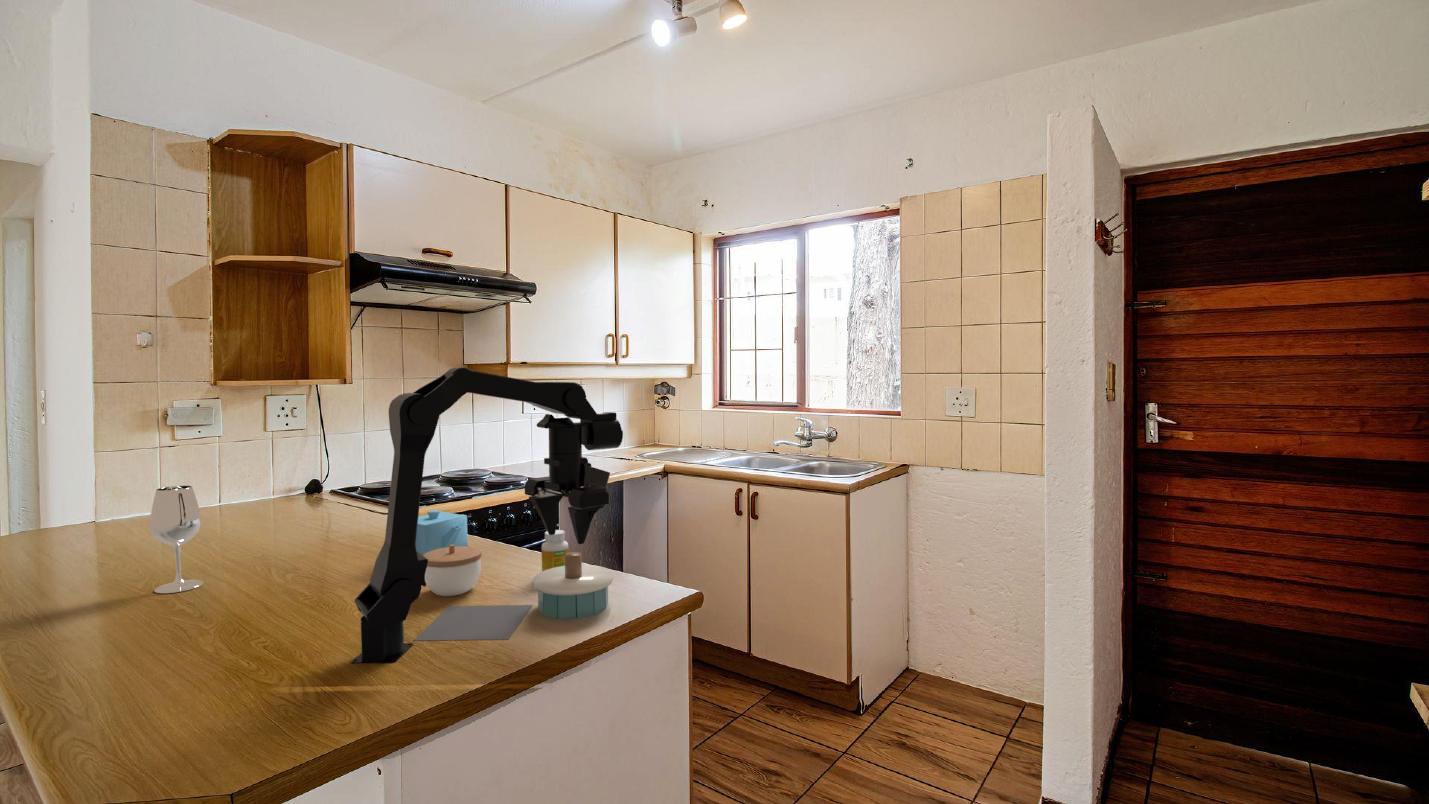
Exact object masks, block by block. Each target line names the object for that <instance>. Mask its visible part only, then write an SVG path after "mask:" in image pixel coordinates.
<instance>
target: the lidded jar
mask: <svg viewBox="0 0 1429 804" xmlns="http://www.w3.org/2000/svg"><path fill="white" fill-rule="evenodd" d="M423 556H424V557H425V558H427V559H428V564H427V568H426V572H425V582H426V587H427V588H428V589H429V590H430V591H431V592H432V593H434V594H435V595H437V596H439V597H452V596H459V595H463V594H466V593H467V592H469V591H471V590H472V588H473V587H474V586H475V585H476V584H477V583H478V580H479V577H480V574H481V567H482V564H481V563H482V550H481V549H480V548H478V547H475V546H469V545H468V546H455V545H453V544H452V545H449V547H446V548H440V549H436V550H433V551H430V552H427V553H425V554H424V555H423Z"/></svg>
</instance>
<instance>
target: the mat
mask: <svg viewBox="0 0 1429 804" xmlns="http://www.w3.org/2000/svg"><path fill="white" fill-rule="evenodd" d="M532 607H533V604H514V605H513V604H511V605H510V604H508V605H505V604H504V605H502V604H501V605H500V604H499V605H494V604H493V605H449V606H448V607H447V608H445V609H444V610H443V611H442V612H441V613H440V614H439V615H438V616H437V617H435V619H434V620H433V621H432V622H431V623H430V624H428V626H426V627H425V629H424V630H422V631H421V632H420V633H419V635H417V636H416V637H415V638H414V639H413V640H412V641H413V642H431V641H432V642H433V641H434V642H435V641H437V642H438V641H439V642H440V641H441V642H442V641H447V642H448V641H500V640H501V641H505V640H506V641H508V640H510V639H511V637H512V636H513V634H514V633H515V631H516V630H517V628H518V627H519V626H520V625H521V623H522V622H523V619H525V617H526V616H527V614H528V613H529V611H530V610H531V609H532Z"/></svg>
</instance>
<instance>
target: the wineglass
mask: <svg viewBox="0 0 1429 804" xmlns="http://www.w3.org/2000/svg"><path fill="white" fill-rule="evenodd" d="M200 511H201V510H200V507H199V503H198V500H197V497H196V494H195V490H194V488H193V486H192V485H173V486H172V485H171V486H165V487H160V488H156V489H155V493H154V497H153V501H152V507H151V513H150V521H149V527H150V528H149V529H150V532H151V534H152V536H153V538H155V539H156V540H157V541H158V542H160V543H162V544H165V545H167V546H172V547H173V551H174V555H175V558H174V559H175V573H176V574H175V579H174V580H173V581H172V582H169V583H165V584H161V585H160V586H157V587H156V588H154V591H153V592H155V593H157V594H176V593H183V592H186V591H190V590H194V589H196V588H198V587H201V586H203V584H204V581H203V580H200V579H186V580H185V579H184V578H183V577H182V570H181V548H182V546H183V544H186V543H187V542H189V541H190V540H192V539H193V538H194V537H195V536H196V535H197V533H198V532H199V531H200V529H201V525H202V518H201V512H200Z"/></svg>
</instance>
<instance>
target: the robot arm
mask: <svg viewBox="0 0 1429 804" xmlns="http://www.w3.org/2000/svg"><path fill="white" fill-rule="evenodd" d="M466 394H471V395H473V394H474V395H479V396H485V397H486V396H487V397H490V398H491V397H492V398H498V399H504V400H509V401H511V400H512V401H516V402H523V403H526V404H530V405H532V406H534V407H537V408H539V409H541V410H544V411H547V412H550V413H552V414H549V413H545V414H544V416H543V418H541V420H539V421H538V422H537V423H536V427H538V428H541V429H548V457H544V458H543V464H544V465H547V466H548V467H549V468H548V475H547V476H542V477H533V478H528V479H527V481H526V482H525V484H524V495H526V496H528V500H529V501H531V503H532V505H533V506H534V509H535V511H536V512H537V514H538V516H539V518H540V519H541V521H542V524H543V525H544V527H545V529H546V531H548V533H549V535H554V534H555V531H556V530H557V519H558V506H559V503H560V502H561V500H562V499H563V498H565V497H566V498H568V500H567V501H568V503H569V505H570V506H568V507H567V509H568V513H569V517H570V521H571V524H572V529H573V533H574V536H575V539H576V543H577V544H578V545H583V544H585V542H586V539H587V537H588V536H587V535H588V532H589V530H590V527H591V523H592V522H593V519H594V516H595V514H596V513H597V512H598V511H600V510H601V509H604V508H605V506H606V505H610V503H611V498H610V497H611V496H610V495H611V494H610V493H611V492H610V490H608V489H607V486H608V482H609V478H610V475H611V472H609V471H608V470H607V471H606V470H603V469H599V468H597V467H592V463H591V462H589V459H588V458H587V457H586V456H585V457H583V451H582V450H583V449H582V448H583V447H584V448H585V449H586V450H588V451H598V450H609V449H618V448H619V447H620V446H621V445H622V442H623V438H624V430H623V429H622V426H621V423H620V421H619V420H618V419H617V412H611V411H607V412H606V411H605V412H602V413H597V412H596V410H595V409H594V408H593V406H592V405H591V403H590V402H589V400H588V399H587V395H586V391H585V389H584V388H583V386H582V385H581V384H580V383H578V382H573V381H571V382H570V381H533V380H532V381H531V380H525V379H520V378H515V377H509V376H504V375H497V374H493V373H488V372H481V371H476V370H472V369H471V368H468V367H451V368H449V369H448V370H447V371H446V372H444V374H442V375H440V376H438V377H437V378H436V379H434V380H432V381H430V382H428V383H427V384H424V385H422V386H421V387H420V388H418V389H415V391H413V392H403V393H401V394H399V395H397V396H396V397H395V398H394V399H392V400H391V402H390V403H389V407H388V420H389V421H388V423H389V433H390V437H391V441H392V446H393V447H392V448H393V461H392V468H391V469H392V470H391V478H390V479H391V481H390V487H389V488H390V489H389V498H388V499H389V500H388V507H387V515H386V517H387V518H386V524H385V525H386V527H385V534H384V535H385V537H384V543H383V545H382V546H381V549H380V551H379V553H378V555H377V557H376V559H375V562H374V566H373V570H372V572H371V575H370V579H369V580H370V581H369V583H368V584H367V586H366V587H365V588H363V590H361V592H360V593H359V594H358V596H356V598H355V599H354V600H353V601H354V603H355V606H356V608H357V610H358V612H359V613H361V614H362V617H361V618H360V638H361V641H360V642H361V644H360V645H361V652H360V653H359V654H358V655H357V656H356V657H355V658H353V660H351V662H350V663H351V664H394V663H396V662H398V660H400V659H401V658H402V657H403V656H404V655H406V653H407V652H408V651H409V650H410V649H411V648H412V647H413V646H414V642H409V643H408V642H406V643H405V638H404V635H405V634H404V631H405V630H404V621H406V620H407V617H408V615H409V611H410V608H411V606H412V604H413V603H414V602H415V601H416V600H418V599H419V597H420V595H421V592H422V587H425V588H426V587H427V584H426V582H425V572H426V568H427V564H428V559H427V558H425V557H424V556H423V555H421V554H420V553H419V552H417V551H416V534H417V525H418V516H420V515H419V514H420V503H421V495H422V494H421V493H422V486H423V485H422V484H423V476H424V468H425V456H426V454H427V450H428V448H429V447H430V445H431V442H432V440H433V439H434V437H435V433H436V429H437V426H438V423H439V419H440V416H441V415H442V414H444V413H445V412H446V411H447V410H449V409H450V408H452V406H454V405H455V404H456V403H457V402H458V401H459V400H460V399H461V398H462V397H464V395H466ZM553 414H559V415H564V416H565V417H555V416H554V415H553ZM572 419H577V420H579V422H578V421H577V422H574V421H573V420H572Z"/></svg>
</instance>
